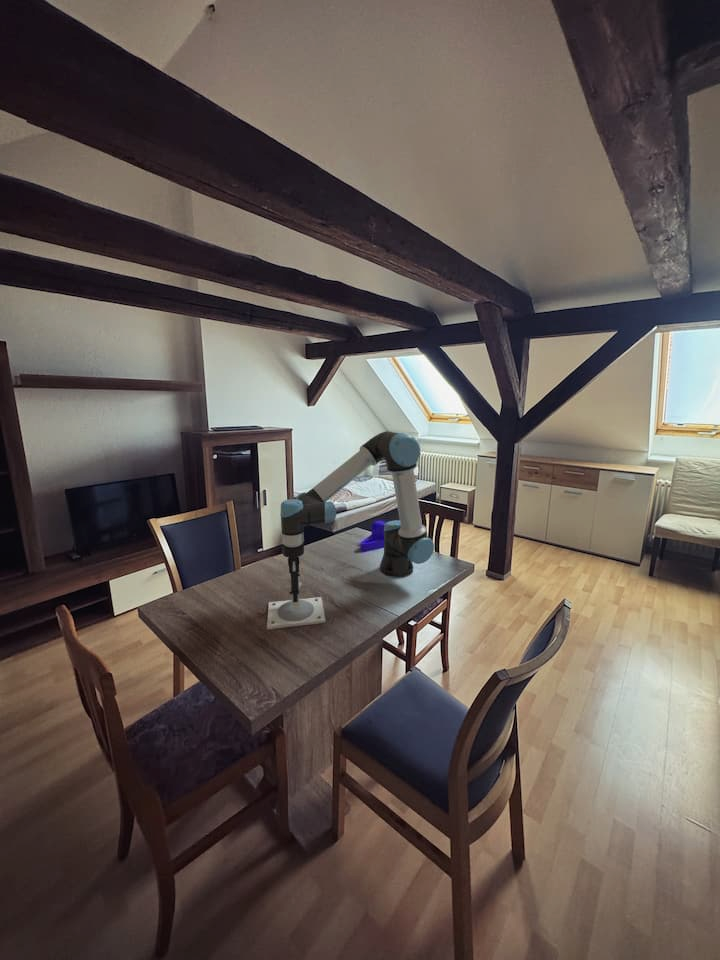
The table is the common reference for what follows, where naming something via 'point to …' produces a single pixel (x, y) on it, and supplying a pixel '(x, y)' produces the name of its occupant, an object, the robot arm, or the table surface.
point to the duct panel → (295, 613)
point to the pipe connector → (288, 589)
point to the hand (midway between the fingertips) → (295, 601)
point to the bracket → (374, 537)
